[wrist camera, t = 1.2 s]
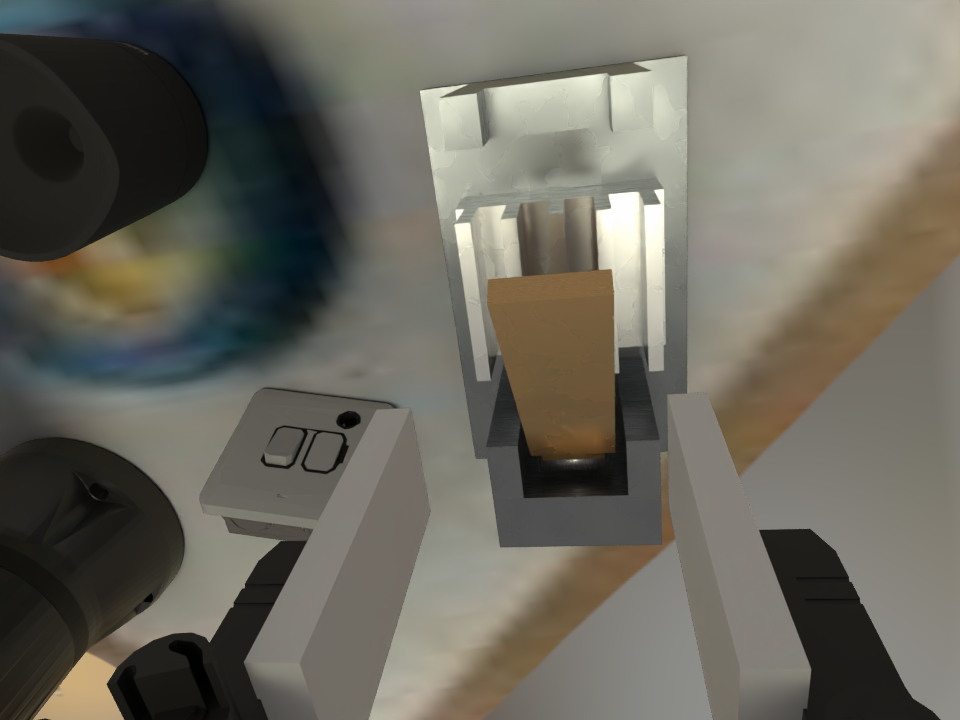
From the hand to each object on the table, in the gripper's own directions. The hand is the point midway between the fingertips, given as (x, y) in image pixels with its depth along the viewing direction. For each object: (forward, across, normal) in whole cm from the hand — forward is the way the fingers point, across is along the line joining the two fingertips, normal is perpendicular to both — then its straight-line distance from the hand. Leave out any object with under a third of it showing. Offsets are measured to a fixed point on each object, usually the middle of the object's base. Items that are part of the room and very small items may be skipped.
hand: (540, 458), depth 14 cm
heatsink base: (+25, 0, -5) cm, 25 cm away
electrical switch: (+25, -16, -14) cm, 33 cm away
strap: (+13, 0, -5) cm, 14 cm away
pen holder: (+25, -23, +6) cm, 35 cm away
